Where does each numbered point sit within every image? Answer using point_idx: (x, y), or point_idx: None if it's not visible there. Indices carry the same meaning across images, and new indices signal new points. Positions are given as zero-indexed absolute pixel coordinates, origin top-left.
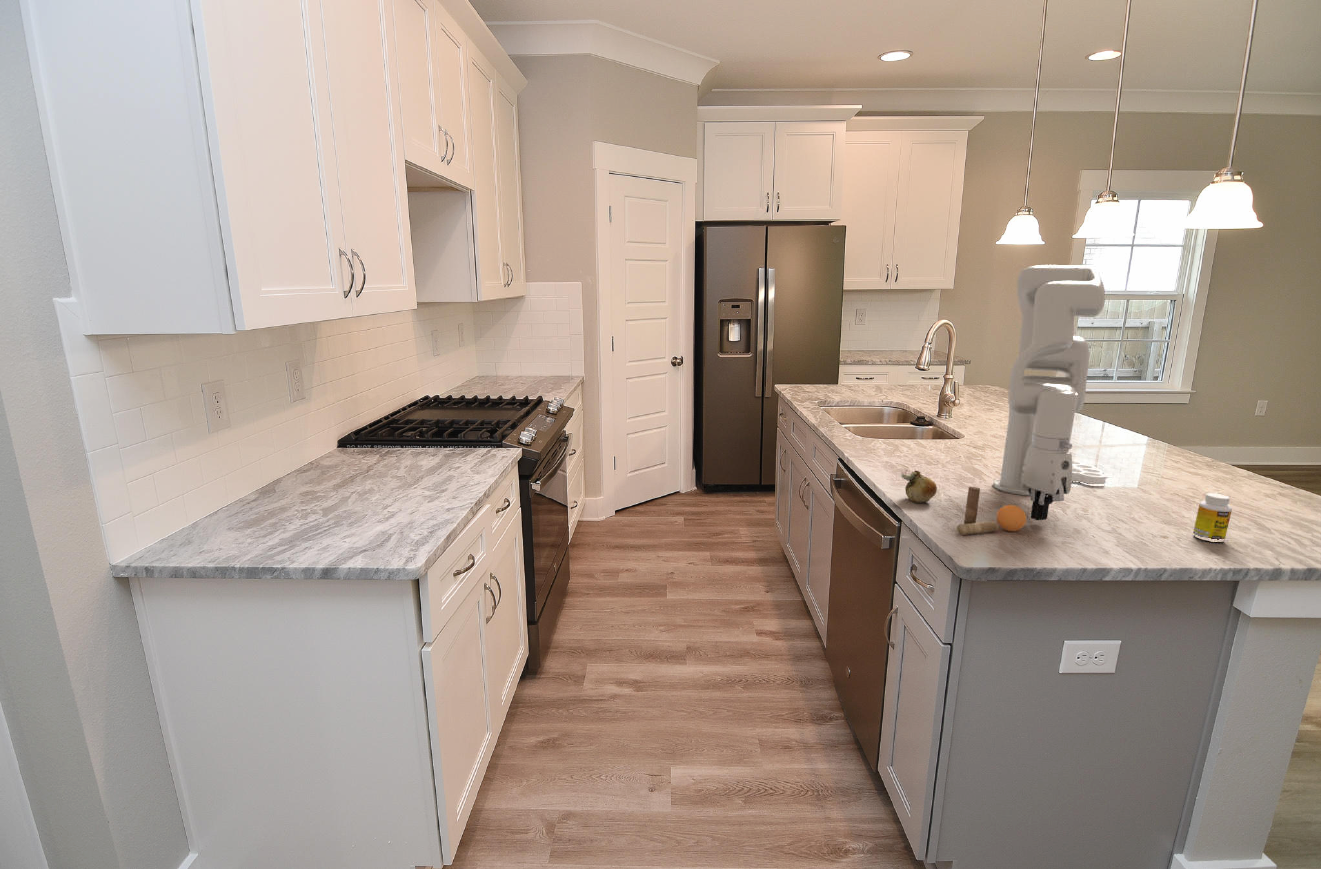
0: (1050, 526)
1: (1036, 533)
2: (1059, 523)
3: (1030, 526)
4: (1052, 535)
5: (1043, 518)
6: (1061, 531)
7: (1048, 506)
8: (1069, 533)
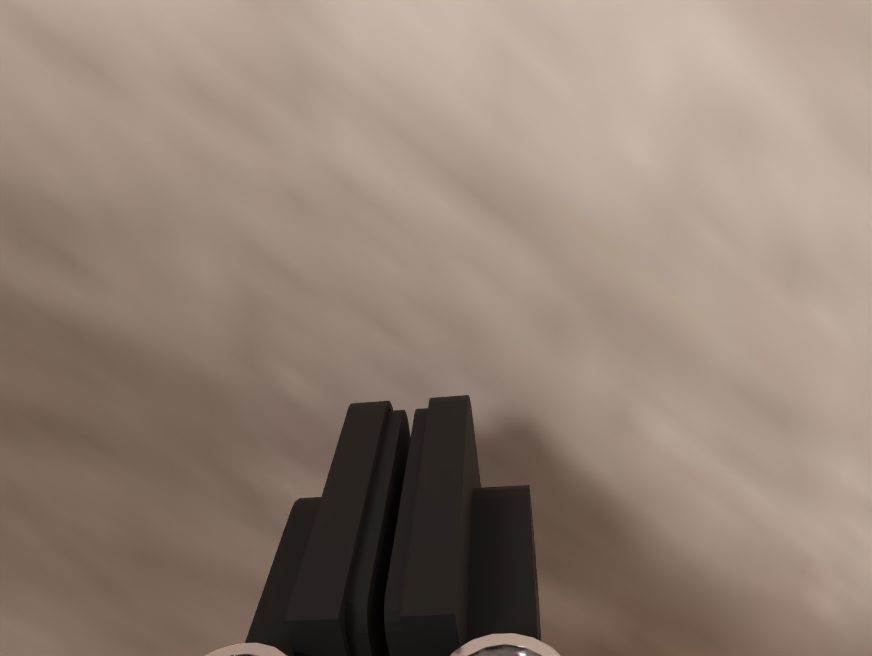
0: (523, 296)
1: (714, 629)
2: (410, 34)
3: None
4: (835, 507)
5: (476, 461)
6: (749, 284)
7: (535, 635)
8: (860, 223)
